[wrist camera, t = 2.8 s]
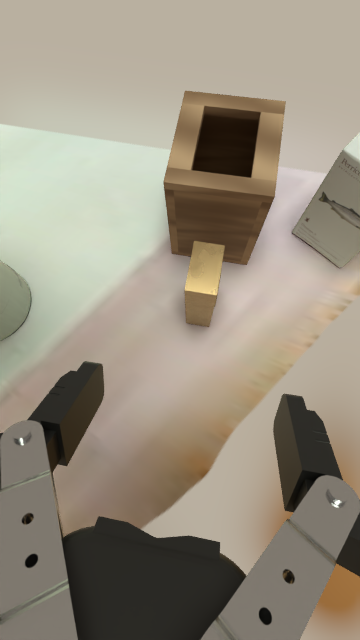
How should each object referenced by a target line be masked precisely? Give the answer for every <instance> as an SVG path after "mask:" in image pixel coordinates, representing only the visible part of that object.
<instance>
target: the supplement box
mask: <svg viewBox="0 0 360 640" xmlns="http://www.w3.org/2000/svg"><path fill="white" fill-rule="evenodd" d="M292 233H293V234H295V235H296V236H298V237H300V238H301V239H302V240H304V241H305V242H307V243H308V244H309V245H311V246H312V247H313V248H315V249H316V250H317V251H319V252H320V253H321V254H323V255H324V256H325V257H326V258H328V259H329V260H330V261H331V262H333V263H334V264H335V265H336V266H338V267H339V268H342V267H343V266H344V265H346V264H347V263H348V262H349V261H350V260H351V259H352V258H353V257H354V256H356V255H357V254H358V253H359V252H360V132H359V133H358V135H356V136H355V138H353V140H352V141H351V142H350V143H349V144H348V145H347V146H346V147H345V148H344V149H343V150H342V152H341V153H340V155H339V156H338V158H337V160H336V161H335V163H334V165H333V166H332V168H331V169H330V171H329V173H328V174H327V176H326V177H325V179H324V181H323V182H322V184H321V185H320V187H319V189H318V190H317V192H316V194H315V195H314V197H313V199H312V200H311V202H310V203H309V205H308V207H307V208H306V210H305V212H304V213H303V215H302V216H301V218H300V220H299V221H298V223H297V225H296V226H295V228H294V229H293V231H292Z"/></svg>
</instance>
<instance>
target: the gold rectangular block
mask: <svg viewBox="0 0 360 640" xmlns="http://www.w3.org/2000/svg"><path fill="white" fill-rule="evenodd" d="M224 248H225V245H218V244H212V243H205V242H198V241H194V244H193V250H192V255H191V260H190V265H189V270H188V276H187V281H186V286H185V308H186V323H189V324H195V325H201V326H207V327H209V325H210V321H211V317H212V313H213V309H214V307H215V304H216V299H217V294H218V288H219V282H220V276H221V267H222V260H223V254H224Z"/></svg>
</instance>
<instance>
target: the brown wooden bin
mask: <svg viewBox="0 0 360 640" xmlns="http://www.w3.org/2000/svg"><path fill="white" fill-rule="evenodd" d="M285 103H286V102H285V101H276V100H267V99H258V98H248V97H239V96H230V95H220V94H211V93H202V92H192V91H185V93H184V98H183V102H182V106H181V111H180V114H179V119H178V123H177V127H176V132H175V136H174V140H173V144H172V148H171V153H170V157H169V161H168V165H167V170H166V174H165V178H164V190H165V199H166V207H167V216H168V224H169V233H170V241H171V250H172V254H178V255H185V256H191V255H192V250H193V244H194V241H198V242H205V243H212V244H218V245H225V248H224V254H223V260H222V261H225V262H231V263H238V264H245V265H247V263H248V261H249V258H250V256H251V253H252V251H253V248H254V246H255V243H256V241H257V239H258V236H259V234H260V231H261V229H262V226H263V224H264V221H265V219H266V217H267V214H268V212H269V209H270V207H271V204H272V202H273V199H274V197H275V189H276V180H277V172H278V162H279V154H280V145H281V136H282V129H283V120H284V110H285Z"/></svg>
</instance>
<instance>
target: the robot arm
mask: <svg viewBox="0 0 360 640" xmlns="http://www.w3.org/2000/svg"><path fill="white" fill-rule="evenodd" d="M30 303H31V295H30V290H29V287H28V284H27V283H26V282H25V280H24V279H23V278H22V277H21V276H20V275H19V274H18V273H16V272H15V271H14V270H13V269H12V268H10V267H9V266H8V265H6V264H4V263H3V262H2V261H1V260H0V340H2V339H4V338H6V337H8V336H9V335H11V334H12V333H13V332H15V331H16V330H17V329H18V328H19V327H20V326H21V324H22V323H23V322H24V320H25V318H26V316H27V315H28V312H29V309H30ZM103 396H104V379H103V366H102V364H99V363H93V362H87V361H85V362H83V364H82V365H81V366H80V368H79V369H78V370H77V371H70V372H68V373H67V374H65V375H64V376H62V377H61V378H60V379H59V381H58V382H57V383H56V384H55V386H54V387H53V388H52V389H51V391H50V392H49V394H47V396H46V397H45V398H44V399H43V401H42V402H41V403H40V405H39V406H38V407H37V408H36V410H35V411H34V412H33V413H32V415H31V416H30V417H29V418H28V420H27V421H21V422H18V423H16V424H14V425H12V426H11V427H9V428H8V429H7V430H6V431H5V432H4V433H0V640H300V638H301V636H302V633H303V631H304V629H305V627H306V625H307V623H308V621H309V619H310V617H311V615H312V613H313V611H314V609H315V607H316V605H317V603H318V600H319V598H320V596H321V594H322V592H323V590H324V588H325V586H326V584H327V582H328V580H329V578H330V576H331V574H332V571H333V570H334V567H335V565H336V563H337V564H339V565H341V566H342V567H344V568H346V569H347V570H349V571H351V572H353V573H355V574H356V575H358V576H360V500H359V498H358V496H357V494H356V493H355V491H354V490H353V489H352V488H351V487H350V486H349V485H348V484H347V483H346V482H344V481H343V479H342V476H341V473H340V470H339V468H338V464H337V462H336V459H335V456H334V453H333V450H332V447H331V444H330V441H329V438H328V435H327V434H326V433H327V432H326V429H325V426H324V423H323V421H322V420H321V419H320V417H319V416H318V415H317V414H316V412H315V411H310V410H307V409H306V406H305V403H304V399H303V398H302V396H296V395H289V394H283V395H282V398H281V401H280V404H279V407H278V410H277V413H276V416H275V420H274V431H273V432H274V440H275V447H276V454H277V460H278V467H279V474H280V481H281V488H282V495H283V502H284V509H285V511H289V512H294V513H293V514H292V516H291V517H290V519H289V520H288V519H287V520H286V521H285V522H284V524H283V525H282V526H281V528H280V529H279V531H278V532H277V534H276V535H275V536H274V538H273V539H272V541H271V542H270V544H269V545H268V546H267V548H266V549H265V551H264V552H263V554H262V555H261V556H260V558H259V559H258V561H257V562H256V564H255V565H254V567H253V568H252V569H251V571H250V572H249V574H248V575H247V576H246V575H245V574H244V572H243V571H242V570H241V569H240V568H239V567H238V566H237V565H236V564H235V563H234V562H233V561H231V560H230V559H229V558H227V557H226V556H224V555H223V554H221V553H220V542H216V541H212V540H207V539H202V538H198V537H193V536H179V537H167V538H155V537H153V536H151V535H149V534H147V533H145V532H144V531H142V530H140V529H138V528H137V527H135V526H133V525H131V524H129V523H128V522H123V521H119V520H114V519H109V518H105V517H100V516H99V517H98V519H97V522H96V525H95V526H91V527H86V528H82V529H79V530H77V531H74V532H72V533H70V534H68V535H66V536H65V537H64V533H63V528H62V523H61V518H60V512H59V506H58V501H57V495H56V489H55V484H54V478H53V471H54V469H55V468H56V466H57V464H59V465H64V466H67V465H68V463H69V461H70V460H71V458H72V456H73V454H74V452H75V450H76V448H77V447H78V445H79V443H80V441H81V439H82V437H83V436H84V434H85V432H86V430H87V428H88V426H89V425H90V423H91V421H92V419H93V417H94V415H95V413H96V412H97V410H98V408H99V406H100V404H101V402H102V400H103Z"/></svg>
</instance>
